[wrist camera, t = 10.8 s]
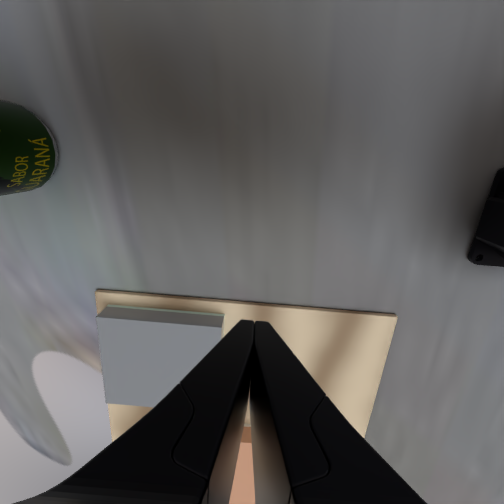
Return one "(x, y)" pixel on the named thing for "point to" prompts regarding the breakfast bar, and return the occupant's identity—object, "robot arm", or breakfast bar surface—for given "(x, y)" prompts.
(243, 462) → the terracotta tile
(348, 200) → the breakfast bar surface
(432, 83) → the breakfast bar surface
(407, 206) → the breakfast bar surface
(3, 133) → the guarana soda can
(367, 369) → the oak board
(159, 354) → the slate tile
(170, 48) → the breakfast bar surface
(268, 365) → the robot arm
